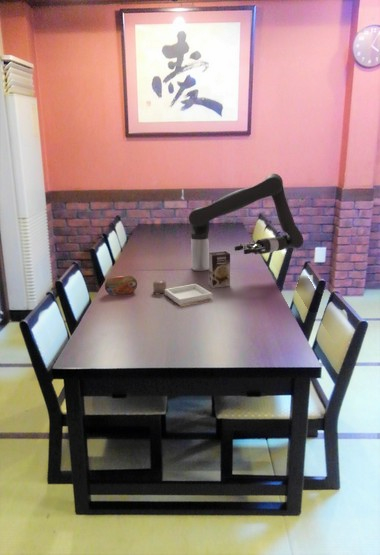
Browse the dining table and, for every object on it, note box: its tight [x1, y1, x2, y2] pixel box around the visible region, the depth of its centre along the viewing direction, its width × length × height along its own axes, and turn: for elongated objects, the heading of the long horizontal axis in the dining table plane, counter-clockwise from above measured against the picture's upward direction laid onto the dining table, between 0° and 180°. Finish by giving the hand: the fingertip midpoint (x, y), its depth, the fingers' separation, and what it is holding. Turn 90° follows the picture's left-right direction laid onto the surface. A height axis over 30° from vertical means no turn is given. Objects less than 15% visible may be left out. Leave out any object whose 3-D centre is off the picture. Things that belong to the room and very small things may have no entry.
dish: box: [164, 283, 213, 306], centre depth 213 cm, size 16×16×3 cm
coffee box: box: [208, 251, 231, 289], centre depth 227 cm, size 9×6×16 cm
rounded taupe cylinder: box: [152, 279, 167, 294], centre depth 222 cm, size 6×6×5 cm
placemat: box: [179, 298, 213, 307], centre depth 214 cm, size 18×15×1 cm
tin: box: [104, 274, 138, 296], centre depth 221 cm, size 15×3×8 cm, turn 105°
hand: (239, 250), depth 229 cm, fingers open, 8 cm apart
